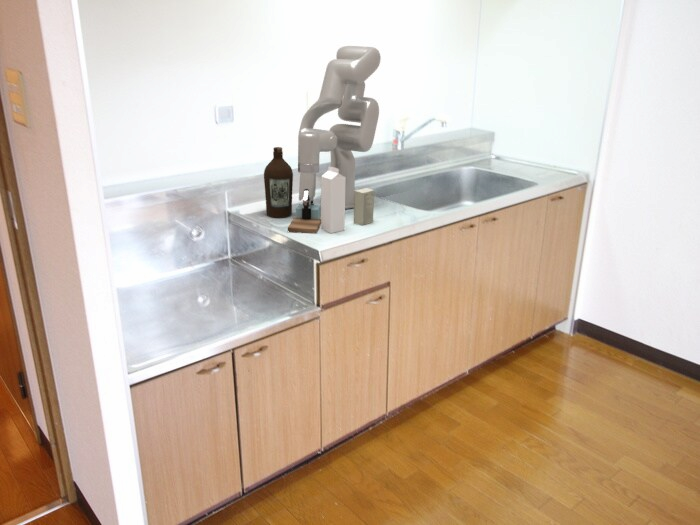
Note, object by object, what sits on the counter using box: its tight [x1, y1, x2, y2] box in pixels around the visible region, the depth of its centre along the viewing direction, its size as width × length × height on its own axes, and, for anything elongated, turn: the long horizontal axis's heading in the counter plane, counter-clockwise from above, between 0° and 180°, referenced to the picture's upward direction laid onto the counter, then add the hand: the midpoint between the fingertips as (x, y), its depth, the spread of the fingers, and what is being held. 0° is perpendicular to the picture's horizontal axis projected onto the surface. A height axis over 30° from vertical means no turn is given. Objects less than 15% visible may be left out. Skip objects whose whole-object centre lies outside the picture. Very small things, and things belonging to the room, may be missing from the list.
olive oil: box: [263, 146, 294, 219], centre depth 226 cm, size 11×11×25 cm
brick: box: [295, 203, 321, 219], centre depth 224 cm, size 6×8×5 cm
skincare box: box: [353, 187, 375, 226], centre depth 221 cm, size 6×4×12 cm
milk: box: [320, 165, 346, 234], centre depth 211 cm, size 6×6×22 cm
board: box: [287, 217, 321, 234], centre depth 216 cm, size 12×10×2 cm
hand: (307, 216), depth 224 cm, fingers open, 6 cm apart
